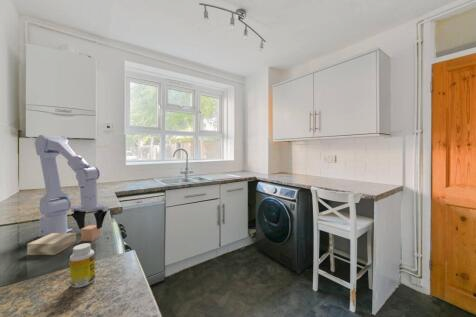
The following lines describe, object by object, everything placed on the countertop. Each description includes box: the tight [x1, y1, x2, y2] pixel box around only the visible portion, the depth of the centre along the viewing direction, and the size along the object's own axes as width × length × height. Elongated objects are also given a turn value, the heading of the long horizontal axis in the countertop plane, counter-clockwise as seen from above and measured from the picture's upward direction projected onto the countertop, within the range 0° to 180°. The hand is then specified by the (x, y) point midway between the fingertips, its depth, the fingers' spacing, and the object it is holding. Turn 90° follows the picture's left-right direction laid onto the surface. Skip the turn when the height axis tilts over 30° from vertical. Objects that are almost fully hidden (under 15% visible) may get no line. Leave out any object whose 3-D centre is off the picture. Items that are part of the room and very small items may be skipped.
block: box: [80, 224, 101, 242], centre depth 90 cm, size 5×5×5 cm
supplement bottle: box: [69, 242, 96, 289], centre depth 59 cm, size 6×6×10 cm
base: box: [26, 232, 77, 256], centre depth 81 cm, size 10×10×4 cm
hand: (90, 228), depth 90 cm, fingers open, 7 cm apart
